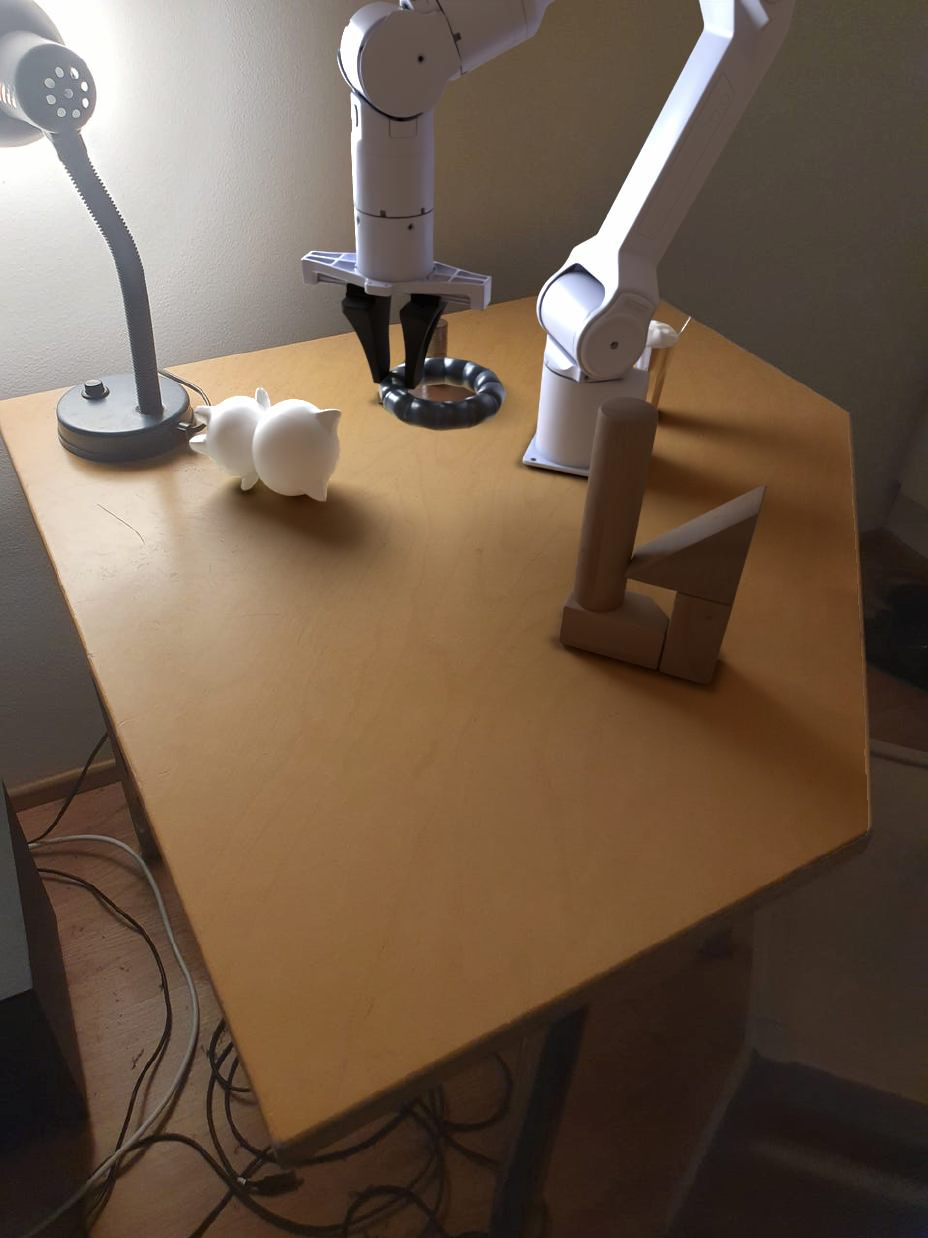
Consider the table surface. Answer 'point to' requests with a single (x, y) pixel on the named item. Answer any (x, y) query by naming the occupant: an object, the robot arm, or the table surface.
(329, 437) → the cat figurine
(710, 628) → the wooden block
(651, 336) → the milkshake
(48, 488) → the table surface
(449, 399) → the stand
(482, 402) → the ring
